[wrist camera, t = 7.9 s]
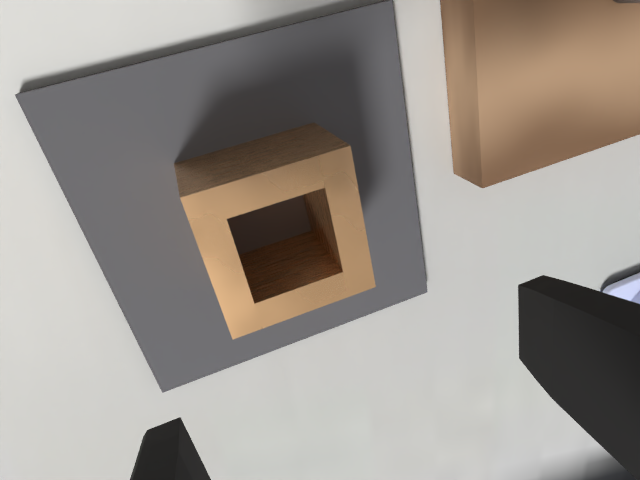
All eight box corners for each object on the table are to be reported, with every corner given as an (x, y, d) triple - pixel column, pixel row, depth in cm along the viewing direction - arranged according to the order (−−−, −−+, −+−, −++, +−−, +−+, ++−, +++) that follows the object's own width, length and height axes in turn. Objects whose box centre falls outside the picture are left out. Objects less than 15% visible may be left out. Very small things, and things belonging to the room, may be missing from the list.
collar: (340, 244, 19) (375, 286, 16) (218, 286, 19) (232, 339, 15) (314, 122, 17) (350, 145, 14) (173, 163, 16) (179, 197, 13)
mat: (423, 287, 22) (427, 291, 22) (162, 386, 20) (162, 392, 20) (387, 0, 17) (392, 0, 16) (18, 93, 14) (15, 94, 14)
